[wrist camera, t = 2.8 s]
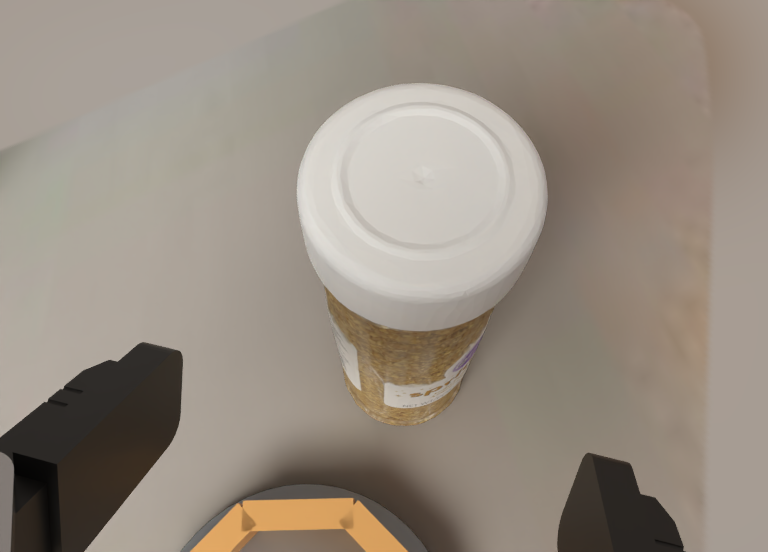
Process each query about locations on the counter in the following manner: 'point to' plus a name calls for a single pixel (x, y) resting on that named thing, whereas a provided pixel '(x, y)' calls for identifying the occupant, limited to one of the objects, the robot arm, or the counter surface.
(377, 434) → the counter surface
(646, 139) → the counter surface
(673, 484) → the counter surface
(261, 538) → the orange rimmed grey dish
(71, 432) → the robot arm
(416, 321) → the spice jar
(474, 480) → the counter surface
